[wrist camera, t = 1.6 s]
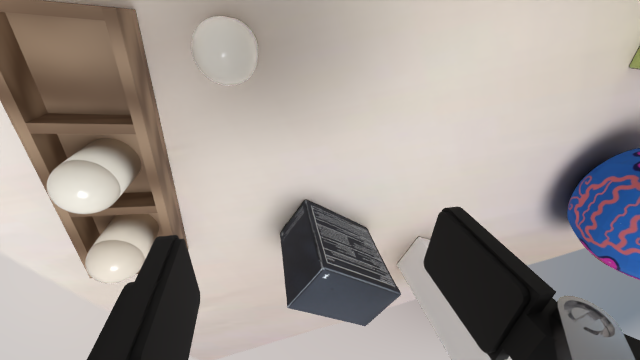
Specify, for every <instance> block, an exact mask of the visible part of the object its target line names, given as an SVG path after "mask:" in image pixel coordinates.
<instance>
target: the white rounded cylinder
mask: <svg viewBox="0 0 640 360" xmlns="http://www.w3.org/2000/svg"><path fill="white" fill-rule="evenodd" d="M191 51H192V56H193V59H194V61H195V63H196V65H197V67H198V69H199V70H200V71H201V72H202V73H203V74H204V75H205V76H206V77H207V78H208V79H210V80H211V81H213V82H215V83H218V84H221V85H226V86H233V85H238V84H241V83H243V82H245V81H246V80H247V79H249V78H250V76H251V75H252V74H253V72H254V71H255V68H256V66H257V61H258V45H257V41H256V38H255V36H254V34H253V32H252V31H251V30H250V28H249V27H248V26H247V25H246V24H244V23H243V22H241V21H240V20H237V19H235V18H231V17H226V16H214V17H210V18H208V19H206V20H204V21H203V22H201V23H200V24H199V25H198V26H197V28H196V29H195V31H194V33H193V36H192V41H191Z"/></svg>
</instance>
